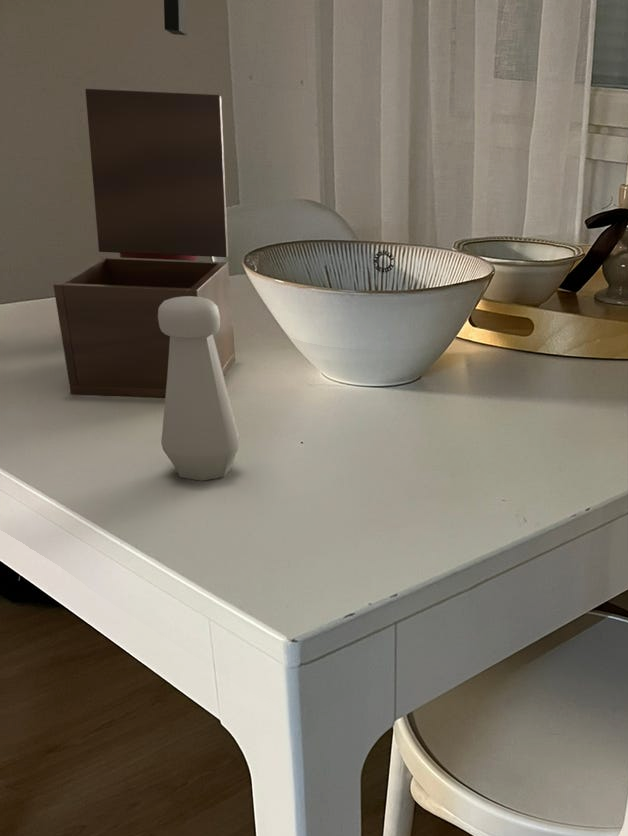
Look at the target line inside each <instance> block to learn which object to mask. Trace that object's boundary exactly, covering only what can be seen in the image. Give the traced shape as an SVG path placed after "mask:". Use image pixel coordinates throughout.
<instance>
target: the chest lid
mask: <svg viewBox="0 0 628 836" xmlns="http://www.w3.org/2000/svg"><path fill="white" fill-rule="evenodd" d="M84 92H85V101H86V115H87V125H88V127H87V128H88V138H89V149H90V150H89V151H90V161H91V172H92V173H91V174H92V175H91V176H92V186H93V197H94V198H93V199H94V210H95V211H94V212H95V223H96V235H97V245H98V246H97V247H98V252H99V253H112V254H113V253H114V254H115V253H116V254H120V253H137V254H161V255H185V256H197V257H211V258H212V257H213V258H229V245H228V241H229V240H228V220H227V197H226V196H227V195H226V193H227V192H226V171H225V148H224V127H223V100H222V96H221V95H220V94H211V93H209V94H207V93H188V92H187V93H186V92H168V91H167V92H166V91H165V92H164V91H148V90H147V91H146V90H145V91H144V90H123V89H103V88H101V89H100V88H85V91H84Z"/></svg>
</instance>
